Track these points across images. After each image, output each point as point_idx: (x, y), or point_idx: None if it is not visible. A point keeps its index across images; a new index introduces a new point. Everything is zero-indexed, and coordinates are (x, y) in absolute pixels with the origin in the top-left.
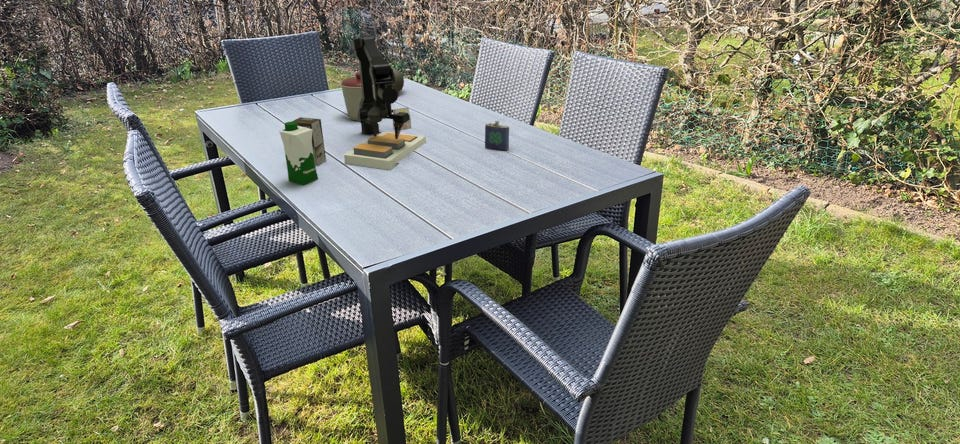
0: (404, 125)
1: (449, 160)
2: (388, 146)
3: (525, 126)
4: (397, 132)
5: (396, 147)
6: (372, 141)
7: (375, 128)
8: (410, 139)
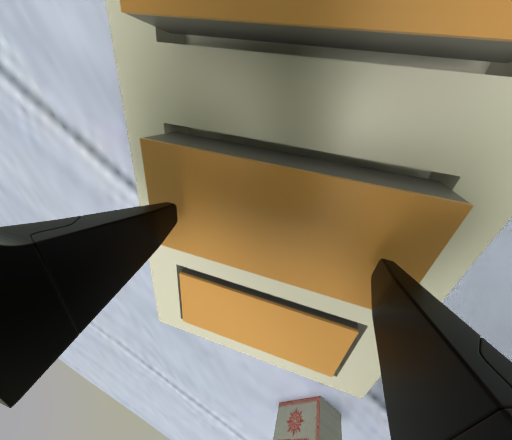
0: (294, 428)
1: (20, 144)
2: (158, 12)
3: (69, 366)
4: (91, 217)
5: (173, 135)
6: (398, 186)
7: (394, 349)
8: (185, 287)
